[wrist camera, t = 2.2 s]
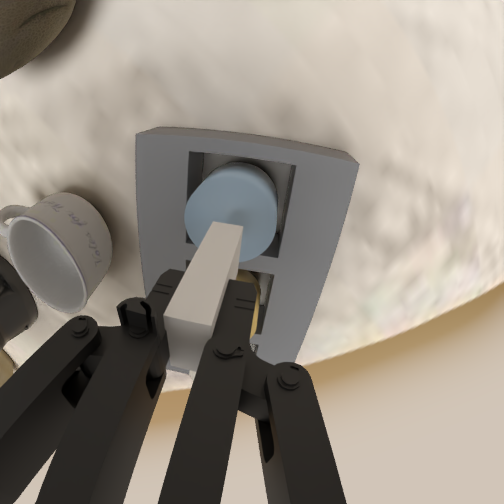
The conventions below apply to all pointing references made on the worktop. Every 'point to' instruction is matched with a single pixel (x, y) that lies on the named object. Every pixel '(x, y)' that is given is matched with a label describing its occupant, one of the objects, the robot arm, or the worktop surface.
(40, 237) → the teacup
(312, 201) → the three ball holder
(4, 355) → the planter bowl
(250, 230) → the button blue
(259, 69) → the worktop surface
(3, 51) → the smooth brown stone
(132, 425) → the robot arm
